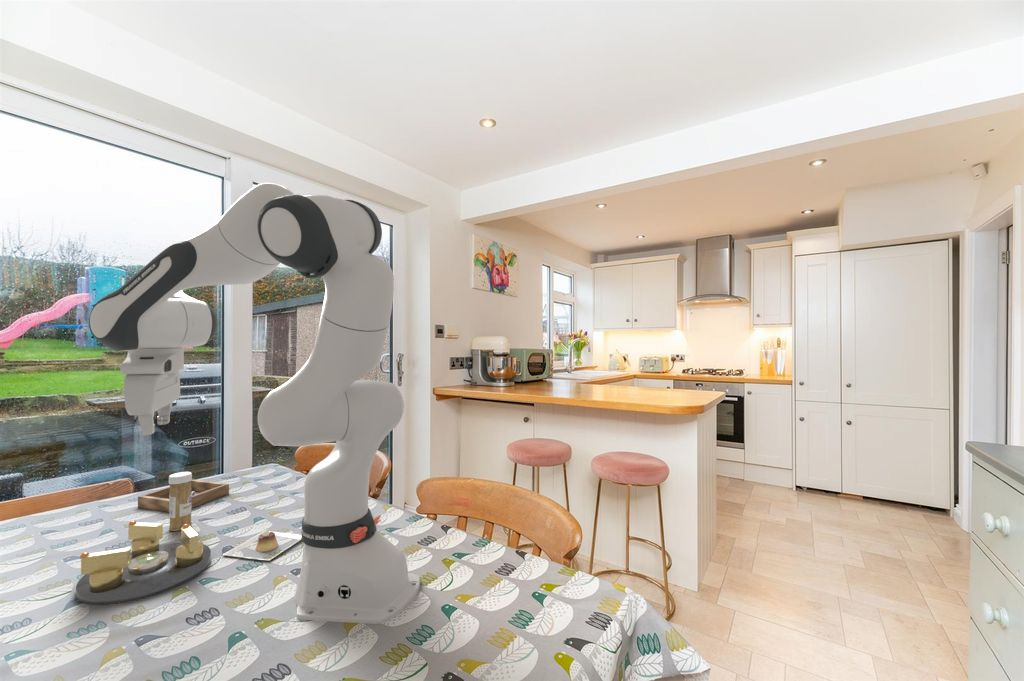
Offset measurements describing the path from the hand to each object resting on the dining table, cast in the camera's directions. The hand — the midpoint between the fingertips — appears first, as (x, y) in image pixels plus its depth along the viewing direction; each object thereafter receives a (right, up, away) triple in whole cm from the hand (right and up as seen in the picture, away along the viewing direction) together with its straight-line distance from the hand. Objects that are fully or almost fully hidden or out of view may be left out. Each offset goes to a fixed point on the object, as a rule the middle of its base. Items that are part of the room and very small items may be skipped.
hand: (156, 428), depth 87 cm
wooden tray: (-22, -28, +36) cm, 51 cm away
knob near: (+8, -26, -1) cm, 28 cm away
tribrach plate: (+1, -29, -3) cm, 29 cm away
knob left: (-1, -26, -10) cm, 28 cm away
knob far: (-4, -26, +2) cm, 27 cm away
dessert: (+18, -29, +9) cm, 35 cm away
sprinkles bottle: (-9, -29, +18) cm, 35 cm away
